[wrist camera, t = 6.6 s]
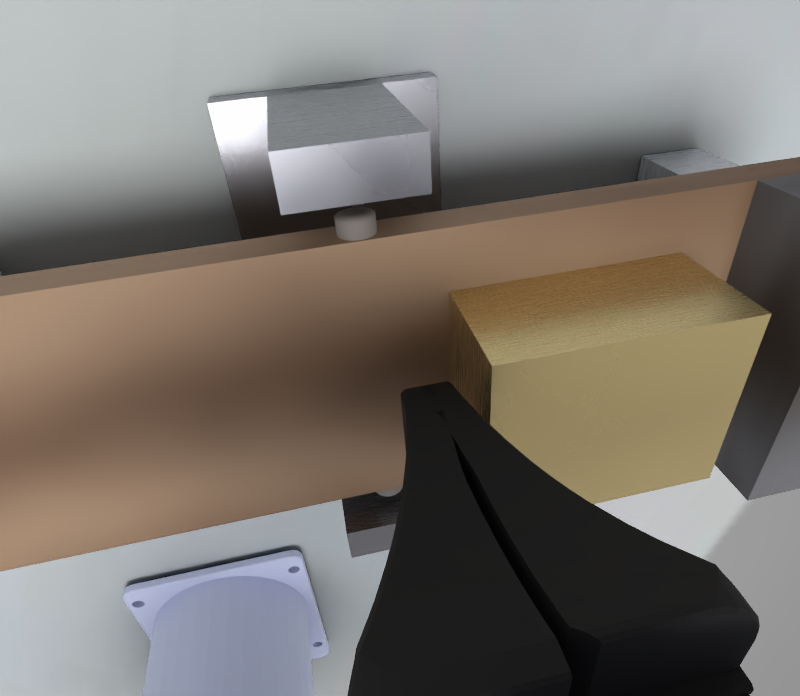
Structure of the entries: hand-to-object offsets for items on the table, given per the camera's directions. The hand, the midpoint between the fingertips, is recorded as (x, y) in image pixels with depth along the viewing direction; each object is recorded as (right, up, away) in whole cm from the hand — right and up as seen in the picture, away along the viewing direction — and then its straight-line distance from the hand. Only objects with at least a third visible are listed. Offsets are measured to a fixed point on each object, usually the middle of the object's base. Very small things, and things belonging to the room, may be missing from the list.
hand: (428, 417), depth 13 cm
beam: (-1, +1, +2) cm, 2 cm away
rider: (+4, +2, +2) cm, 4 cm away
